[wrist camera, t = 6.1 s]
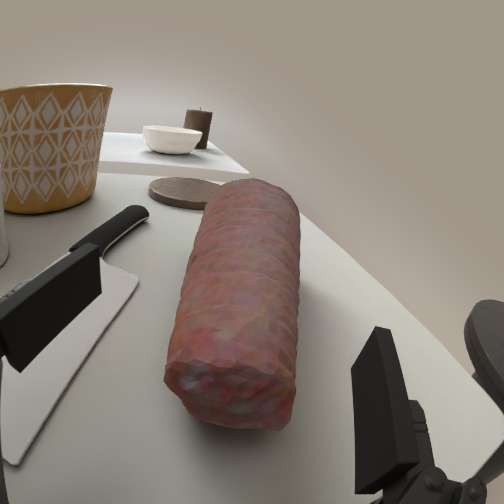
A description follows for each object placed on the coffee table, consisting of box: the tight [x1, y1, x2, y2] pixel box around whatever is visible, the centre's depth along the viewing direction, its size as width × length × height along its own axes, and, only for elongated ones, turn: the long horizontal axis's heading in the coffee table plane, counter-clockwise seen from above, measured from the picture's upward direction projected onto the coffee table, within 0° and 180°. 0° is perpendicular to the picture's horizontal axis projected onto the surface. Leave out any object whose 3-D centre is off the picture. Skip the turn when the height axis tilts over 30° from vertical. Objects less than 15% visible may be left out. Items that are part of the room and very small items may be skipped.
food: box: [163, 178, 301, 431], centre depth 20 cm, size 21×9×9 cm, turn 1°
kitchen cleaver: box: [0, 205, 149, 466], centre depth 21 cm, size 31×2×10 cm
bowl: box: [142, 126, 203, 154], centre depth 81 cm, size 18×18×7 cm
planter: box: [0, 84, 113, 214], centre depth 32 cm, size 19×19×16 cm
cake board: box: [149, 177, 221, 210], centre depth 47 cm, size 14×14×1 cm
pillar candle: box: [184, 108, 212, 149], centre depth 99 cm, size 10×10×15 cm
